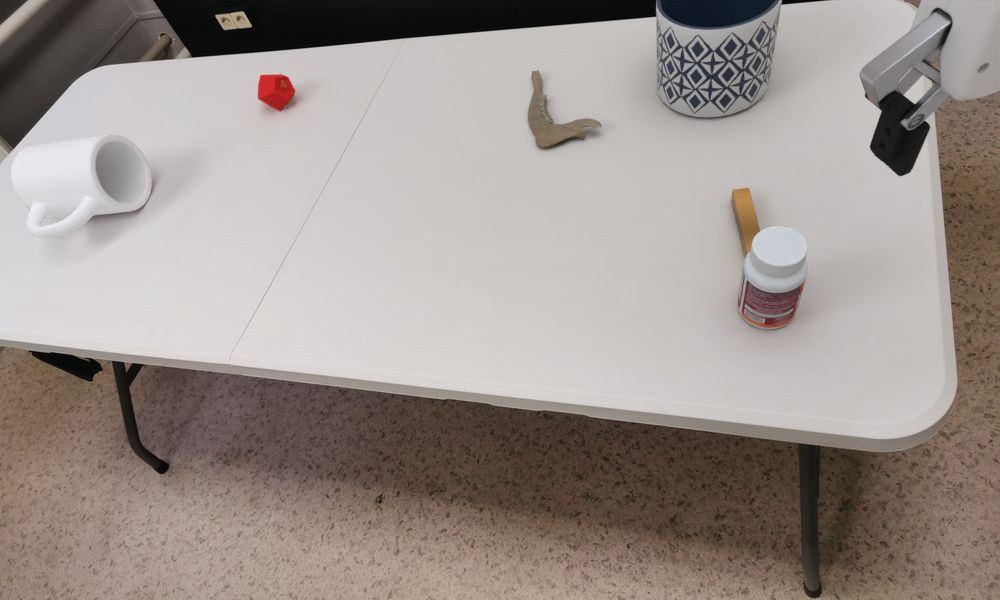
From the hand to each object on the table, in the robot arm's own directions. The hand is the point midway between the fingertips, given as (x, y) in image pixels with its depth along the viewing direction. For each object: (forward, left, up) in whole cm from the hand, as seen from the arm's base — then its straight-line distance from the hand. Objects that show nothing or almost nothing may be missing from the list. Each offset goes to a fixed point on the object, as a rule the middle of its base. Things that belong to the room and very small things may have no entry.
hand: (958, 134), depth 40 cm
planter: (-10, -47, -31) cm, 57 cm away
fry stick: (0, -19, -30) cm, 36 cm away
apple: (+56, -86, -31) cm, 107 cm away
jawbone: (+11, -55, -31) cm, 64 cm away
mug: (+91, -73, -31) cm, 121 cm away
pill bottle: (+4, -9, -31) cm, 32 cm away
